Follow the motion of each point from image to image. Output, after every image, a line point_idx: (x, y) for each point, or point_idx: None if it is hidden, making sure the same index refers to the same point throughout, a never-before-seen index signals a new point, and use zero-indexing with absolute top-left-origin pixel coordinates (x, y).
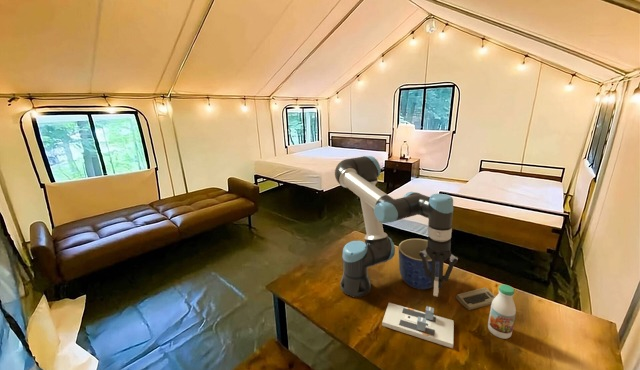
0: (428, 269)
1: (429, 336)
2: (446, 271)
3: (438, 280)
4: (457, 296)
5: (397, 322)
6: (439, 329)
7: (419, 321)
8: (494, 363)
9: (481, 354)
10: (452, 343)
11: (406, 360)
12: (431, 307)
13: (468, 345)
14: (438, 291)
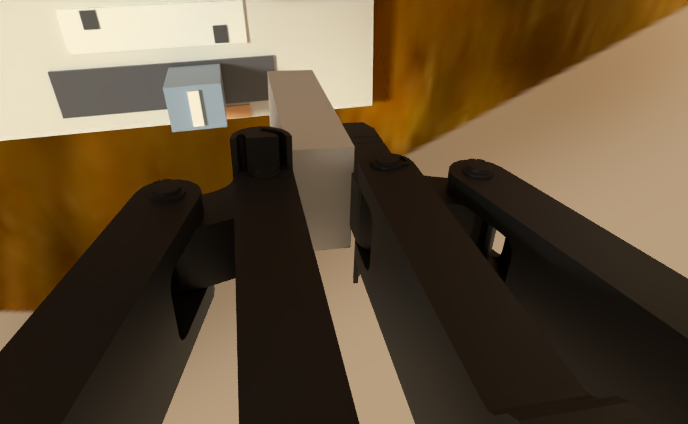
0: (175, 334)
1: (254, 114)
2: (525, 258)
3: (355, 277)
4: None
5: (43, 102)
6: (297, 34)
7: (186, 130)
8: (523, 88)
9: (483, 65)
10: (368, 102)
11: None
12: None
13: (435, 38)
14: (313, 74)
